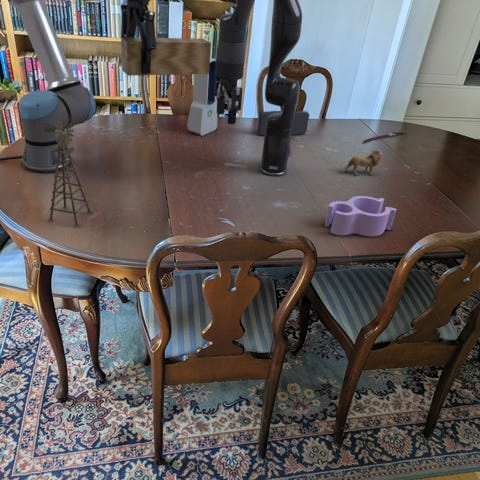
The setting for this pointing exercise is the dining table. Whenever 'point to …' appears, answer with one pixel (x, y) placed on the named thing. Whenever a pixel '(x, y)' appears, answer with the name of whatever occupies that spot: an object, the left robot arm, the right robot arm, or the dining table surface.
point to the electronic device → (203, 103)
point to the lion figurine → (365, 162)
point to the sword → (382, 136)
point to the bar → (167, 56)
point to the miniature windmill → (60, 149)
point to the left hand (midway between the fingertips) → (138, 70)
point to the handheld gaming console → (297, 127)
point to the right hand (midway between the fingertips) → (225, 118)
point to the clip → (359, 216)
